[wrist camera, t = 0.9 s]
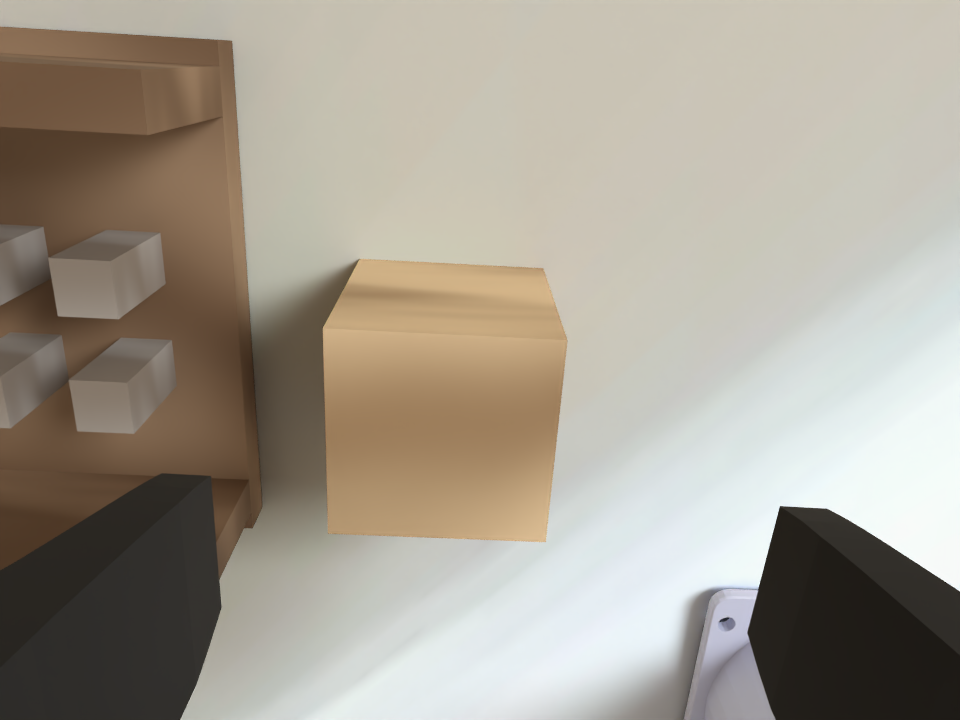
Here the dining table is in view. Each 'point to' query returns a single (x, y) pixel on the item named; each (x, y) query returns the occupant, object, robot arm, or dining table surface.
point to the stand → (121, 281)
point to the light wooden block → (442, 401)
